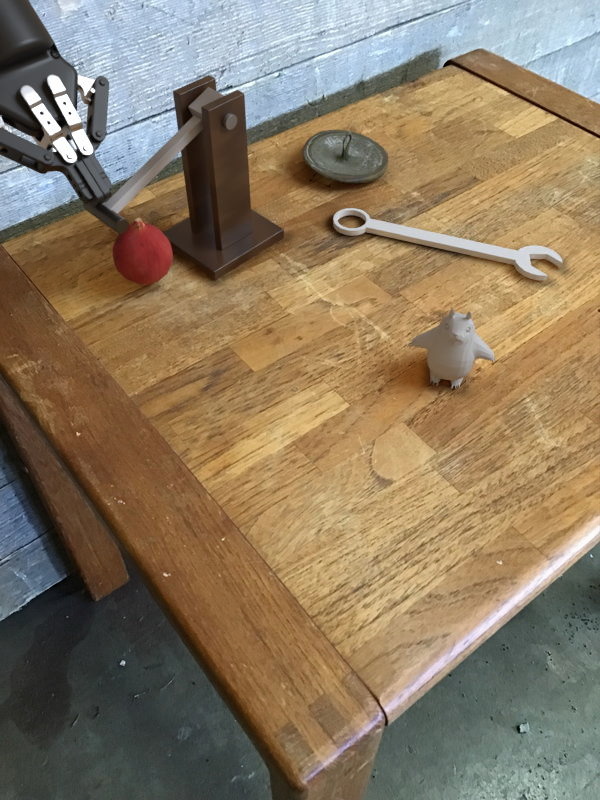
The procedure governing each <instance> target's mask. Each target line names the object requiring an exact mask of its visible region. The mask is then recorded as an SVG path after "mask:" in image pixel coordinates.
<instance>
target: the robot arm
mask: <svg viewBox="0 0 600 800" xmlns="http://www.w3.org/2000/svg"><path fill="white" fill-rule="evenodd" d="M78 94H80V99H81V101H82V102H83V104H85V105H87V112H86V126H85V130H84V127H83V126H84V125H83V121H82V119H81V117H80V116H79V114H78V112H77V111H78ZM109 95H110V81H109V79H108V78H107V77H106V76H104V75H99V76H97V77H95V78H91V77H88V76H84V75H81V74H78V72H77V69H76V68H75V66H74V65H73V64H71V63H70V62H68V61H67V60H66V59H64V57H63V56H62V55H61V53H60V51H59V49H58V47H57V45H56V43H55V41H54V39H53V38H52V36H51V34H50V33H49V31H48V29H47V27H46V26H45V24H44V23H43V21H42V19H41V18H40V16H39V15H38V13H37V11H36V10H35V8H34V6H33V5H32V4H31V2H30V0H0V156H2V157H4V158H5V159H8V160H10V161H13V162H14V163H17V164H19V165H21V166H23V167H26V168H27V169H30V170H32V171H34V172H35V173H37V174H38V173H39V174H40V175H45V174H47V173H48V172H59V173H61V174H63V175H64V177H65V178H66V179H67V182H68V183H69V184H70V186H71V188H72V189H73V190H74V193H75V194H76V195H77V198H78V199H79V201H81V202H82V203H83V202H84V203H85V204H87V203H89V204H90V205H91V206H92V207H93V208H95V207H96V206H98V205H100V204H102V203H103V204H105V203H106V202H107V201H108V200H109V199H110V198H111V197H112V196H113V195H112V191H111V190H112V189H113V185H112V184H113V183H112V181H111V179H110V177H109V176H108V175H107V173H106V172H105V170H104V168H103V166H102V165H101V163H100V162H99V160H98V158H97V156H96V151H97V150H98V149H99V148H100V146H101V144H102V142H104V141H105V139H106V137H107V125H108V124H107V123H108V110H109ZM12 128H13V129H15V130H16V131H19V132H21V133H23V134H24V135H27V136H29V137H31V138H32V139H33V140H34V142H35V143H34V142H32V141H29V140H28V139H25V138H24V137H21V136H19V135H18V134H15V133H13V132H12V131H13V130H12Z"/></svg>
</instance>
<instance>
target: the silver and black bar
mask: <svg viewBox="0 0 600 800" xmlns="http://www.w3.org/2000/svg"><path fill="white" fill-rule="evenodd" d="M223 96H225V95H224V94H223V93H221V92H219V91H215V90H213V89H211V88H209V87H208V88H207V89H206V90H205V91H204V92H203V93H202V94H201V95H200V96H199V97H198V98H197V99H195V100H194V101H193V102H192V103H191V104H190V105H189V106H188V108H189V110H190V112H191V114H192V116H193V117H192V118H191V119H190V120H189V121H188V122H187V123H186V124H185V125H184V126H183V127H182V128H181V129H180V130H179V131H178V130H177V132H175V134H173V135H172V137H170V138H169V139H168V140H167V141H166V143H164V144H163V145H162V146H161V147H160V148H159V150H158V151H156V153H154V154H153V155H152V156H151V157H150V158H149V159H148V160H147V161H146V162H145V163H144V164H143V165H142V166H141V167H140V168H138V170H137V171H136V172H135V173H133V175H132V176H131V177H130V178H129V179H128V180H127V181H125V183H124V184H123V185H122V186H121V187H120V188H119V189H118V190H117V191H116V192H115V193H114V194H113V195H112V196H111V197H110V198H109V200H108V201H106V202H104V203H102V204H100V205H98V206H96V207H95V208H93V207H92V206H91V205H90V204H89V203H87V204H85V203H84V202H82V208H83V210H85V211H86V212H88V213H89V214H90V215H92V216H93V217H94V218H96V219H97V220H98V221H100V222H101V223H102V224H103V225H106V227H108V229H110V230H112V231H113V232H115V233H116V234H117V235H118V234H122V233H124V232H125V231H126V230H127V228H128V224H129V221H128V219H127V218H125V217H124V216H122V215H121V214H120V212H121V211H122V210H123V209H124V208H125V207H126V206H128V204H129V203H130V202H131V201H133V200H134V199H135V197H137V196H138V195H139V193H140V192H141V191H142V190H144V189H145V188H146V187H147V186H148V184H150V182H151V181H152V180H153V179H154V178H156V176H157V175H159V174H160V172H162V170H164V169H165V168H166V167H167V165H168V164H170V163H171V162H172V160H174V159H175V158H176V157H177V156H178V155H179V154H180V153H181V150H182V149H183V148H184V147H185V146H186V145H187V144H188V143H189V142H190V141H191V140H192V139H194V138H195V137H196V136H197V135H198V134H199V133H200V132H201V131H202V130H203V120H202V110H201V107H202V106H204V105H206V104H208V103H210V102H213V101H215V100H217V99H219V98H221V97H223Z"/></svg>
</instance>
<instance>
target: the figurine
mask: <svg viewBox="0 0 600 800" xmlns="http://www.w3.org/2000/svg"><path fill="white" fill-rule="evenodd" d="M448 312H449V313H448V314H446V315H445V316H444V317H442V319H440V322H439V324H438V325H437V326H435V327H433V328H431V329H429V330H427V331H425V332H421V333H420V334H418V335H416V336H415V337H413V338H412V340H411V342H409V343H407V346H408V347H407V349H408V350H409V349H410V348H412V347H414V348H419V349H420V348H421V349H425V350H427V351H426V352H427V353H426V362H427V367H428V369H429V378H430V379H429V380H430V381H429V383H430V384H431V383H432V385H433V386H434V385H435V383H436V386H438V385H439V383H440V381H441V380H446V381H450V385H451V388H450V389H451V390H453V387H454V389H455V390H456V389H457V387H458V389H460V387H461V384H462V382H463V380H464V377H466V376H467V375H468V374H469V373H470V372H471V370H472V369H473V366H474V363H475V361H476V359H480V360H481V359H482V360H486V361H491V363H493V364H495V362H497V358H495V353H494V351H493V349H491V348H490V346H489V345H488V344H487V343H486V342H485V341H484V340H483V339H482V338H481V337H480V336H479V334H478V333H476V326H475V322H474V320H473V319H472V312H471V311H468V312H467V313H466V314H465V313H462V312H455V309H454V308H451V309H450V310H449V311H448Z"/></svg>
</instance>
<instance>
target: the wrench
mask: <svg viewBox="0 0 600 800" xmlns="http://www.w3.org/2000/svg"><path fill="white" fill-rule="evenodd" d="M346 216H356V217H359V218H361V219H362V220H363V221H364V222H365V223H364V224H363V225H361V226H358V227H353V228H352V227H346V226H344V225H342V224H340V222H339V220H340V219H341V218H343V217H346ZM332 225H333V228H334V230H335V231H337V232H338V233H340V234H342V235H345V236H353V237H354V236H360V235H363V234H365V233H369V234H373V235H377V236H381V237H386V238H391V239H395V240H399V241H404V242H409V243H413V244H418V245H423V246H426V247H431V248H434V249H435V248H436V249H441V250H445V251H449V252H453V253H454V252H455V253H458V254H463V255H467V256H472V257H476V258H481V259H485V260H489V261H494V262H499V263H503V264H508V265H512V266H514V268H515V270H516V271H517V272H518V273H519V274H520V275H522V276H524V277H525V278H528V279H530V280H535V281H544V282H545V281H547V280H548V276H549V275H548V274H546V273H545V272H543V271H541V270H540V269H538V268H536V267H535V266H533V265H532V262H531V260H546V261H548V262H550V263H552V264H553V265H555V266H557V267H559V268H560V269H562V267H563V264H564V261H563V259H562V256H560V254H559V253H558V252H556V251H555V250H553V249H552V248H549V247H547V246H543V245H539V244H538V245H535V244H534V245H533V244H531V245H526V246H523V247H521V248H519V249H518V250H516V249H512V248H509V247H508V248H507V247H503V246H499V245H494V244H489V243H485V242H480V241H476V240H471V239H466V238H463V237H462V238H461V237H459V236H458V237H457V236H453V235H448V234H443V233H439V232H434V231H431V230H430V231H429V230H426V229H421V228H417V227H412V226H407V225H402V224H397V223H393V222H388V221H384V220H379V219H376V218H375V219H374V218H371V217H370V215H369V214H368V212H366V211H365V210H362V209H359V208H354V207H347V208H343V209H340V210H338V211H336V213H334V215H333V218H332Z"/></svg>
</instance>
